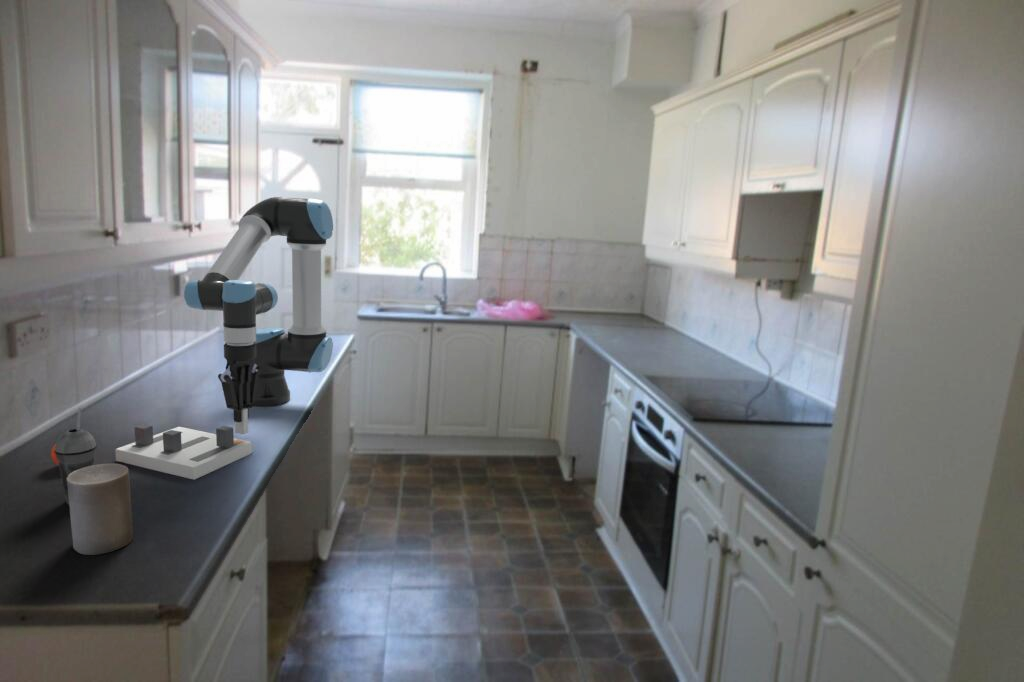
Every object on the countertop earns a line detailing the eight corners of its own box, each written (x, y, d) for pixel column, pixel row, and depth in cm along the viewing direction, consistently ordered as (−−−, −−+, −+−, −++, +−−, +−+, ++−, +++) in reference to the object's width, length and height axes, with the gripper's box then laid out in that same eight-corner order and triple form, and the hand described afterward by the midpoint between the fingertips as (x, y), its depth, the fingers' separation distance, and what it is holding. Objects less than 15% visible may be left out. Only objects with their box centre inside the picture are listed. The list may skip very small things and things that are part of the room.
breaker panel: (179, 437, 176) (178, 410, 174) (252, 453, 168) (251, 424, 166) (116, 460, 158) (114, 430, 156) (194, 479, 150) (192, 448, 149)
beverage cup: (52, 500, 136) (45, 408, 132) (92, 490, 142) (85, 401, 138) (66, 511, 132) (58, 417, 128) (105, 500, 138) (100, 409, 134)
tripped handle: (224, 442, 164) (223, 425, 163) (233, 444, 163) (233, 427, 162) (216, 445, 162) (216, 428, 161) (226, 448, 161) (225, 430, 160)
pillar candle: (142, 529, 127) (137, 456, 124) (120, 555, 118) (114, 476, 115) (87, 530, 126) (81, 456, 123) (61, 556, 116) (54, 477, 113)
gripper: (246, 336, 170) (247, 423, 175) (208, 345, 158) (210, 438, 163) (270, 340, 168) (270, 428, 172) (233, 349, 156) (234, 443, 160)
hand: (241, 432), depth 168 cm, fingers closed
